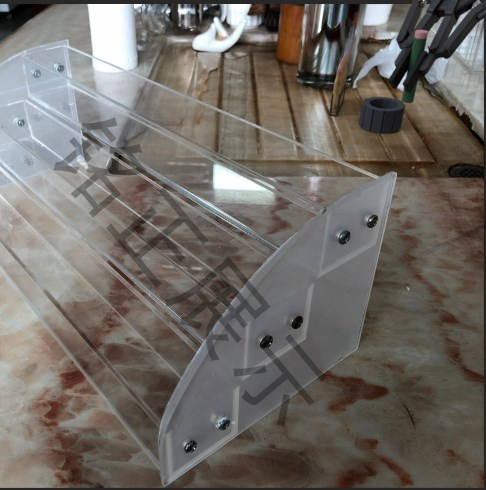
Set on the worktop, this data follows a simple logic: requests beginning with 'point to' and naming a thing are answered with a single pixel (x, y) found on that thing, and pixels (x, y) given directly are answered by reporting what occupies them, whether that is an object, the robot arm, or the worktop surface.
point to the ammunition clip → (339, 87)
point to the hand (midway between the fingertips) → (399, 86)
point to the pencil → (416, 51)
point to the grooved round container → (381, 114)
